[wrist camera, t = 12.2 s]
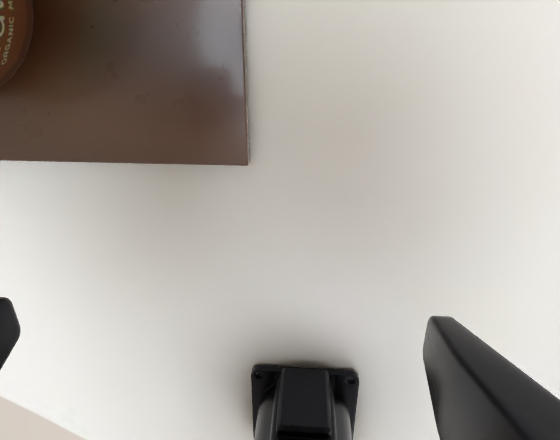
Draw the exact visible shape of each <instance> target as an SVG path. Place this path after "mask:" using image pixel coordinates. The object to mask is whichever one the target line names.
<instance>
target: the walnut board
mask: <svg viewBox="0 0 560 440" xmlns="http://www.w3.org/2000/svg"><path fill="white" fill-rule="evenodd" d="M32 1H33V13H34V17H33V33H32V37H31V40H30V44H29V48H28V51H27V55H26V58H25V59H24V61H23V62H22V64H21V65H20V66H19V68H18V69H17V71H16V72H15V73H14V75H13V76H12V78H11V79H10V80H9V82H7V83H5V84H4V85H2V86H0V160H10V161H56V162H103V163H149V164H195V165H241V166H247V165H248V164H249V162H250V156H249V125H248V94H247V63H246V32H245V2H244V0H32Z"/></svg>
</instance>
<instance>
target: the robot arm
mask: <svg viewBox="0 0 560 440" xmlns="http://www.w3.org/2000/svg"><path fill="white" fill-rule="evenodd" d="M19 336H20V325H19V322H18V319H17V316H16V313H15V310H14V307H13V304H12V302H11V301H10V300H9V299H8V298H5V297H0V370H1V368H2V366H3V364H4V363H5V361H6V359H7V358H8V356H9V354H10V352H11V351H12V349H13V347H14V346H15V344H16V342H17V340H18V338H19ZM423 360H424V365H425V370H426V375H427V380H428V385H429V390H430V395H431V400H432V405H433V410H434V415H435V420H436V425H437V429H438V433H439V437H440V440H560V400H559V399H558V398H557V397H555V396H554V395H553V394H551V393H550V392H549V391H547V390H546V389H545V388H543V387H542V386H541V385H540V384H538V383H537V382H536V381H534V380H533V379H532V378H530V377H529V376H528V375H526V374H525V373H524V372H523V371H521V370H520V369H519V368H517V367H516V366H515V365H513V364H512V363H511V362H509V361H508V360H507V359H506V358H504V357H503V356H502V355H500V354H499V353H498V352H496V351H495V350H494V349H493V348H491V347H490V346H489V345H487V344H486V343H485V342H483V341H482V340H481V339H479V338H478V337H477V336H476V335H474V334H473V333H472V332H470V331H469V330H468V329H466V328H465V327H464V326H462V325H461V324H460V323H459V322H457V321H456V320H455V319H453V318H452V317H446V316H432V317H430V318H429V320H428V324H427V329H426V334H425V340H424V345H423ZM258 373H261V374H258ZM349 378H352V379H349ZM251 381H252V406H253V431H254V440H353V432H354V423H355V414H356V405H357V396H358V387H359V378H358V374H357V372H355V371H353V370H341V369H322V368H304V367H286V366H268V365H257V366H255V367H254V368H253V369H252V375H251Z"/></svg>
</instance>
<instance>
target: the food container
mask: <svg viewBox="0 0 560 440" xmlns="http://www.w3.org/2000/svg"><path fill="white" fill-rule="evenodd" d="M33 17H34V13H33V1H32V0H0V86H2V85H4V84H5V83H7V82H9V80H10V79H11V78H12V76H13V75H14V73H15V72H16V71H17V69H18V68H19V66H20V65H21V64H22V62H23V61H24V59H25V58H26V55H27V51H28V48H29V44H30V40H31V37H32V33H33Z"/></svg>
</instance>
